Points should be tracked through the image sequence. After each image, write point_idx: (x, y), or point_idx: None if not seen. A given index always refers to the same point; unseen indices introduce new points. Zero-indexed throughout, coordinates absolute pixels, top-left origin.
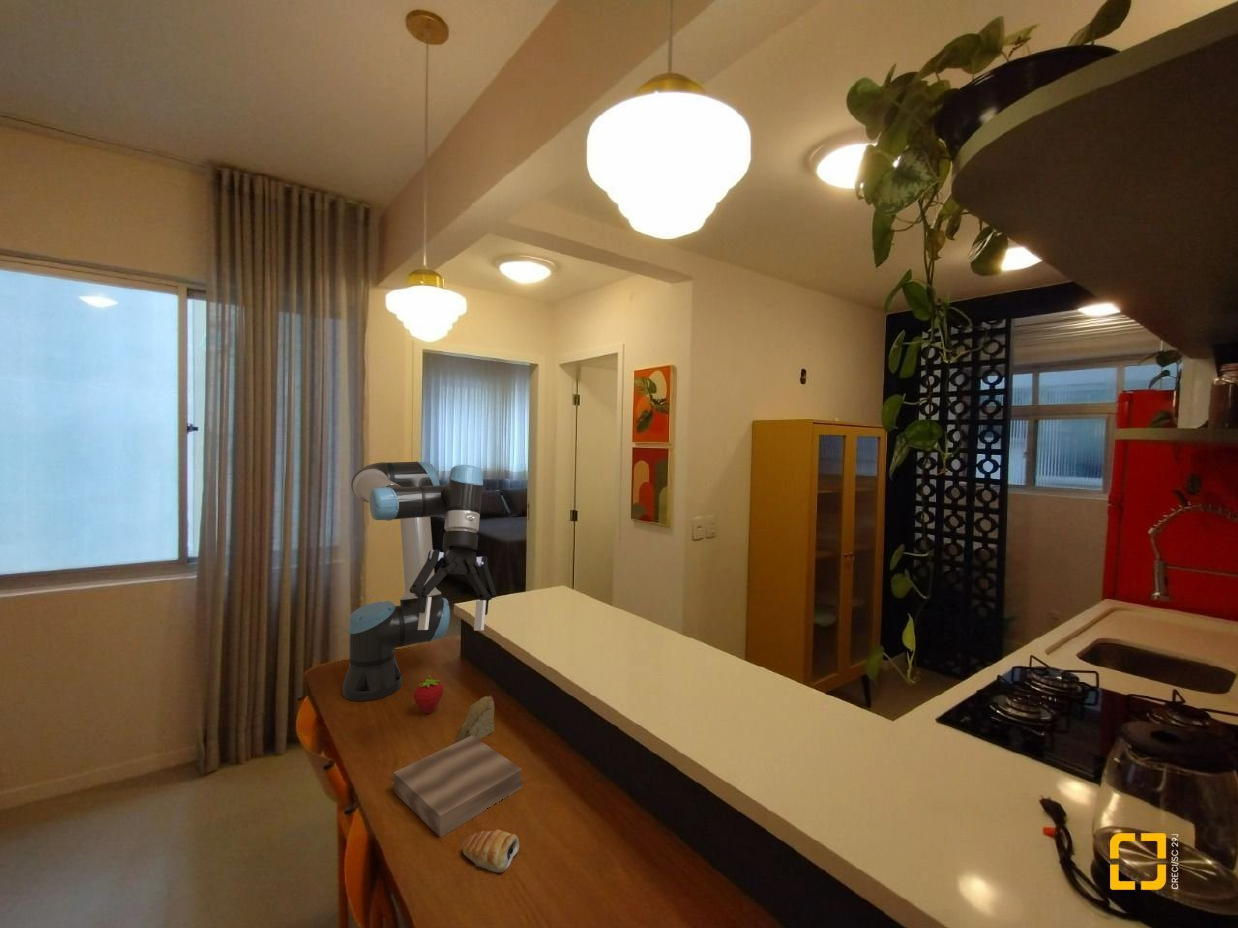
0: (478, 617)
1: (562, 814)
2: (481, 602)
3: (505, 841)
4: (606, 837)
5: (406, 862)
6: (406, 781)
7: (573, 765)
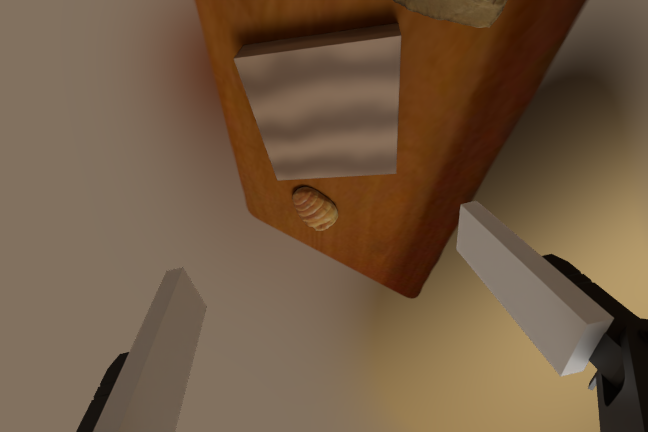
0: (494, 266)
1: (395, 207)
2: (554, 350)
3: (320, 227)
4: (401, 240)
5: (246, 170)
6: (251, 97)
7: (476, 162)
